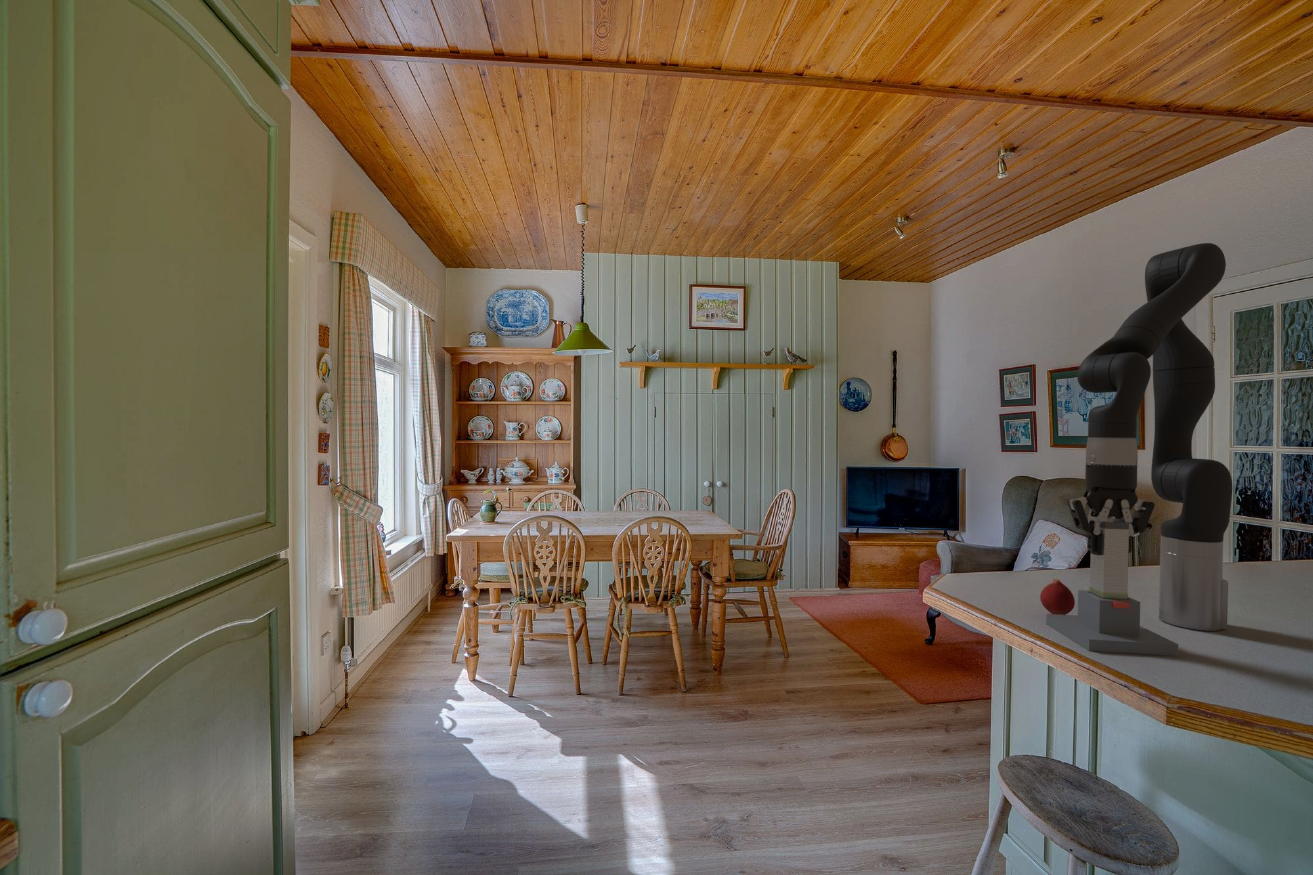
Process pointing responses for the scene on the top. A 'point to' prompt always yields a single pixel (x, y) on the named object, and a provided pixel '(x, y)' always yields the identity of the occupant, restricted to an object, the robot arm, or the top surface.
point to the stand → (1110, 627)
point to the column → (1111, 562)
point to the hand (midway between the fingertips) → (1108, 554)
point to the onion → (1057, 598)
